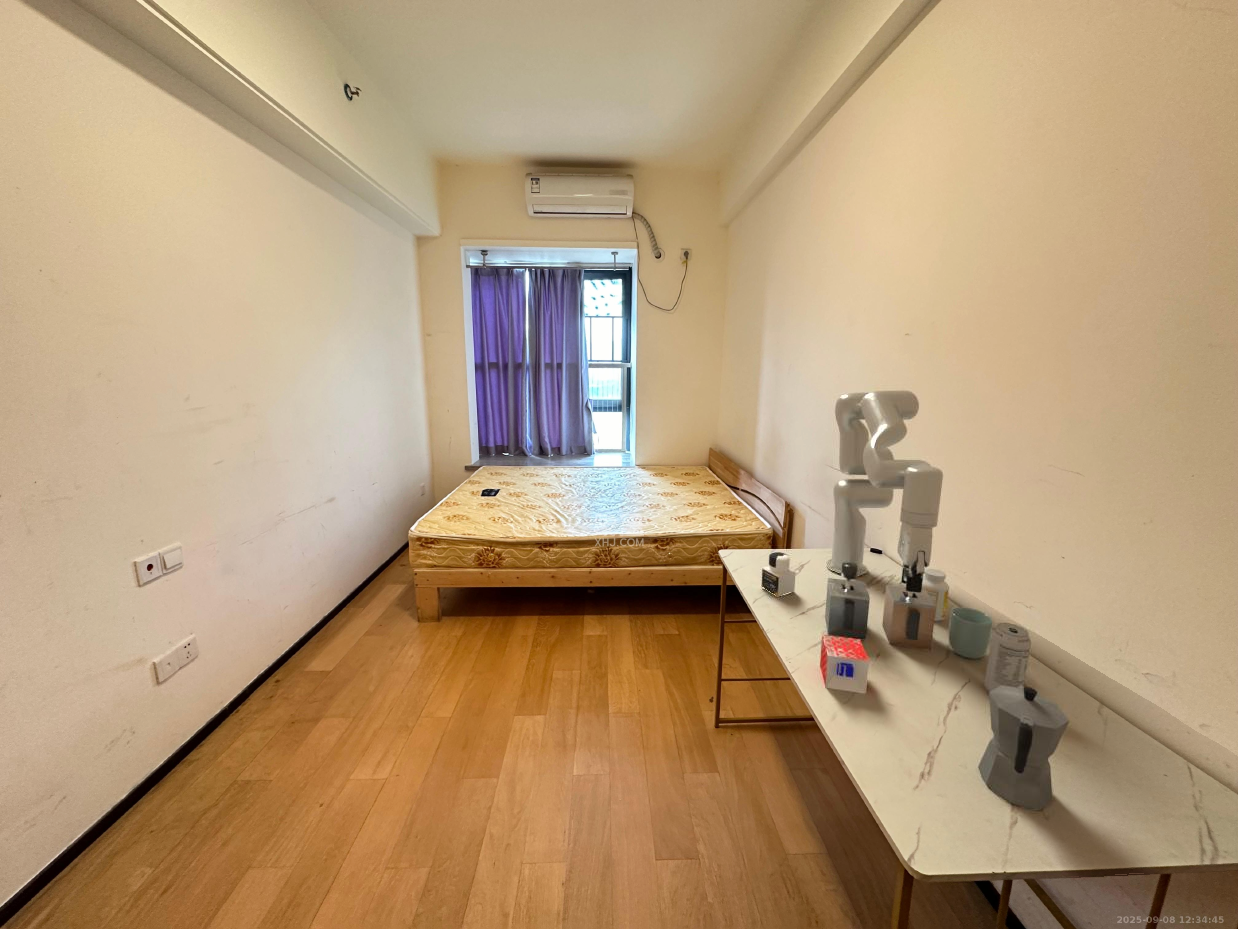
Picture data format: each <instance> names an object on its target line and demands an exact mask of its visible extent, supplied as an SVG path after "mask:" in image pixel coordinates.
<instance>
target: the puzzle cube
mask: <svg viewBox="0 0 1238 929" xmlns="http://www.w3.org/2000/svg"><path fill="white" fill-rule="evenodd" d="M820 646H821V647H820V658H819V660H820V661H819V667H820V671H821V675H822V678H823V683H824V686H825V689H827V688H828V689H834V690H840V691H846V692H847V691H848V692H854V693H860V694H865V695H866V694H867V686H868V675H869V674H868V673H869V668H870V667H869V664H870V661H869V660H870V659H869V657H868V656H867V652H866V650H865V647H864V645H863V643H862V641H861V640H860V639H854V638H847V637H841V636H834V635H828V634H827V635H826V634H822V635H821V645H820Z"/></svg>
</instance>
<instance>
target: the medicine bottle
mask: <svg viewBox="0 0 1238 929" xmlns="http://www.w3.org/2000/svg"><path fill="white" fill-rule="evenodd" d="M790 560H791V557H790V555H788V554H786V553H784V552H779V551H777V552H776V551H775V552H772V553H769V556H768V566H763V567H762V569H761V570H762V571H761V588H762V587H764V588H765V589H767V590H768V591H770V592H771V593H773V594H775V595H776V596H781V595H783V594H786V593H789V592H793V591H795V588H796V574H797V572H796V571H795V570H793V569H791V568H790V562H791V561H790ZM795 592H796V591H795ZM771 593H770V594H771ZM776 596H775V597H776ZM781 597H782V596H781Z"/></svg>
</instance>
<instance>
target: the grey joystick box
mask: <svg viewBox="0 0 1238 929" xmlns="http://www.w3.org/2000/svg"><path fill="white" fill-rule="evenodd" d="M825 600H826V601H825V613H824V614H825V615H824V618H825V625H826V631H827V636H835V637H844V638H852V639H860V641H861V640H862V641H866V640H867V634H868V632H867V631H868V622H869V620H868V619H869V611H870V603H871V602H870V600H871V598H870V594H869V592H868V589H867V587H866V584H865V581H859V580H857V581H856V580H851V582H850V590H847V589H846V579H842V578H841V579H840V578H831V577H828V578H827V585H826V598H825Z"/></svg>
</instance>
